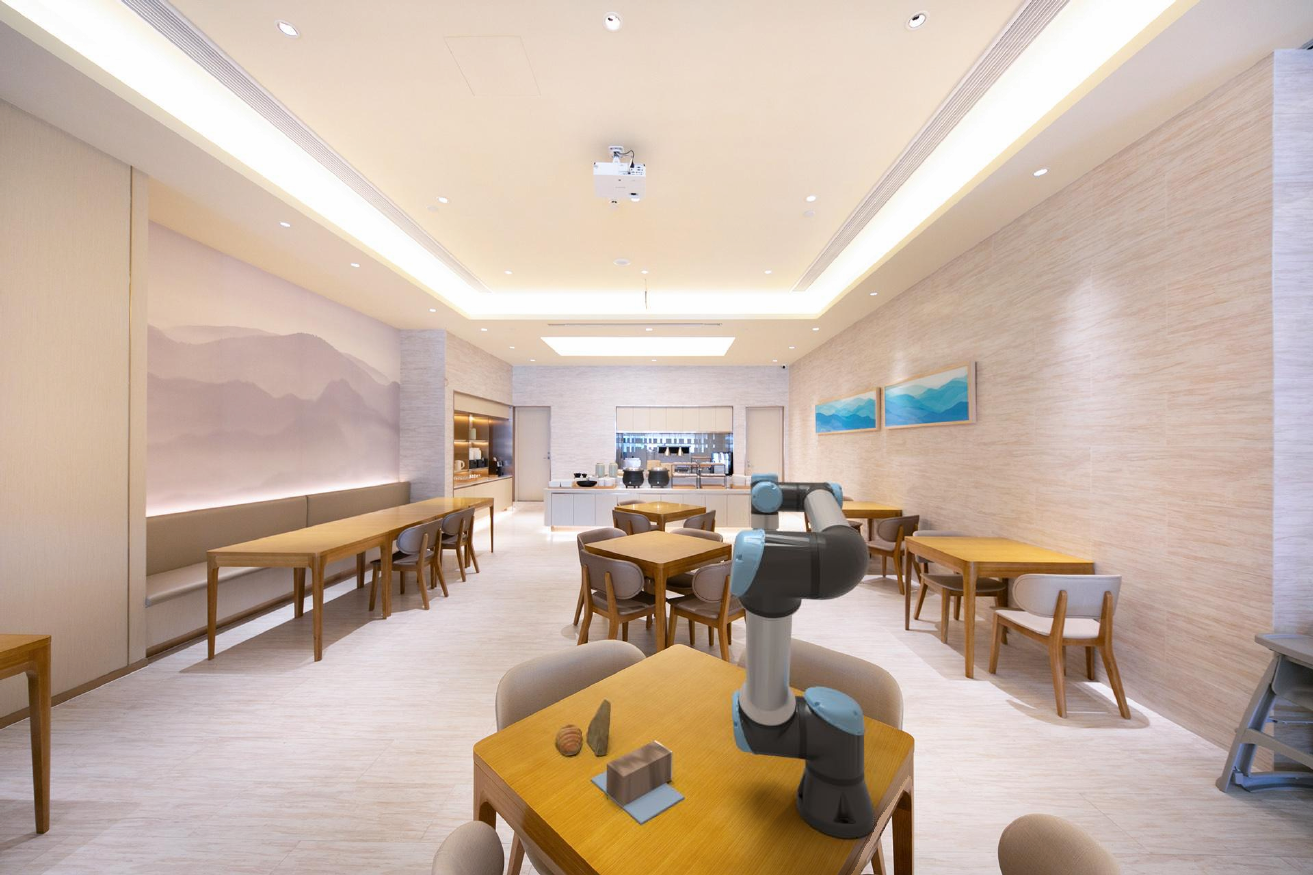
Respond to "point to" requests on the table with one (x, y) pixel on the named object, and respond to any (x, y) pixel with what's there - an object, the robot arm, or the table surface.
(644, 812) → the mat
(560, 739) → the pastry
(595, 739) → the rock
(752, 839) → the table surface
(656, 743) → the walnut block
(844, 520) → the robot arm
